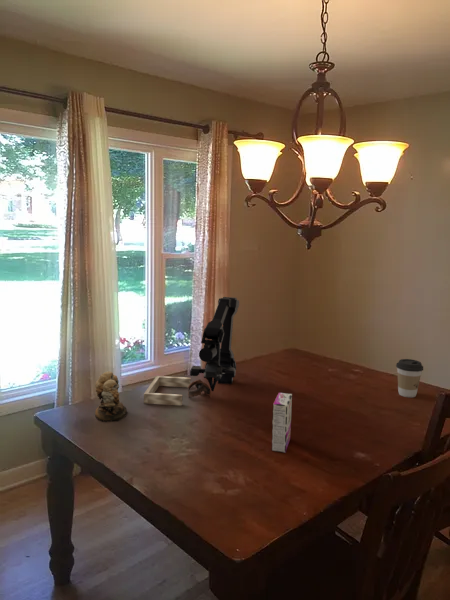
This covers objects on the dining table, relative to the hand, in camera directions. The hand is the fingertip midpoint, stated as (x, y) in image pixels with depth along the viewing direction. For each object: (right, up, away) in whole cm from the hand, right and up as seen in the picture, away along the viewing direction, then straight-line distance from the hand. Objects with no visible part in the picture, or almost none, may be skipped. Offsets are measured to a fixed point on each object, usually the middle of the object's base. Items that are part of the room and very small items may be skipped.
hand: (212, 391), depth 206 cm
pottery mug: (-5, -3, 0) cm, 6 cm away
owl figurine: (-38, -5, -20) cm, 43 cm away
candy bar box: (+24, -10, -42) cm, 50 cm away
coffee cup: (+86, -3, +9) cm, 86 cm away
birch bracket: (-19, -2, +2) cm, 19 cm away
